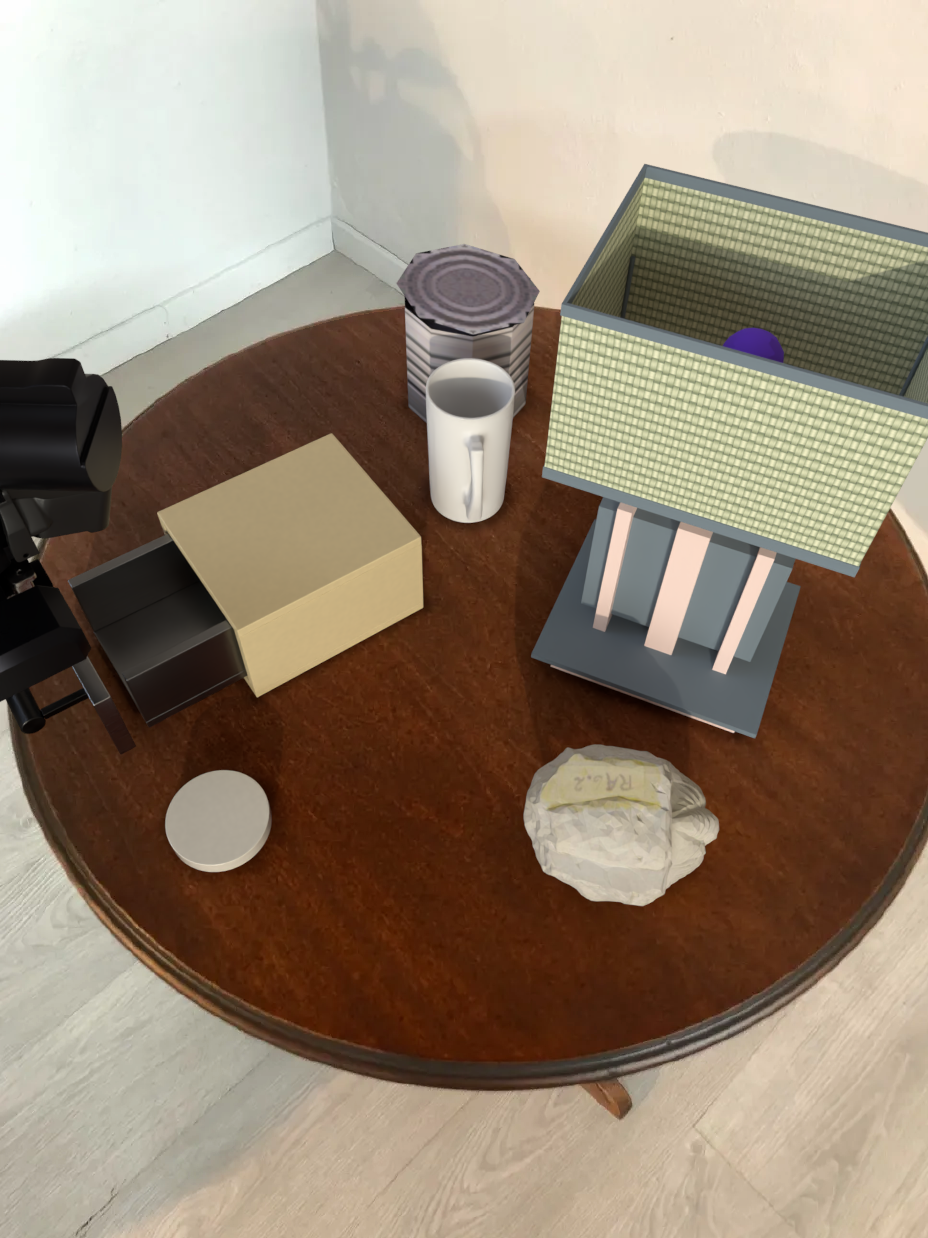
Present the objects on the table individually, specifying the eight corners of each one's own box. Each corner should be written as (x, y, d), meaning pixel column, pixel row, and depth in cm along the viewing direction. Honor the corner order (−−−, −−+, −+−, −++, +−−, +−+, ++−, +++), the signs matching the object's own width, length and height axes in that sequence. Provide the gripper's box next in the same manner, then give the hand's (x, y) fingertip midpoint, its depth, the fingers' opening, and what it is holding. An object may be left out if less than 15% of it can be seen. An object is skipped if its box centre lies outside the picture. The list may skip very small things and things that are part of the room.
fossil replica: (729, 887, 67) (653, 767, 73) (764, 822, 60) (678, 697, 66) (565, 952, 63) (499, 820, 69) (585, 890, 57) (511, 751, 63)
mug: (425, 468, 88) (422, 359, 78) (502, 464, 88) (509, 355, 78) (433, 559, 82) (431, 454, 72) (515, 554, 82) (525, 449, 73)
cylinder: (198, 895, 66) (193, 885, 64) (154, 815, 69) (147, 803, 67) (291, 839, 68) (288, 828, 66) (243, 764, 71) (239, 752, 70)
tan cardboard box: (257, 697, 74) (237, 631, 67) (181, 584, 80) (156, 511, 73) (423, 607, 79) (421, 536, 72) (341, 507, 85) (331, 432, 78)
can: (423, 342, 97) (421, 230, 88) (539, 363, 96) (550, 253, 86) (388, 422, 91) (382, 312, 81) (512, 447, 89) (520, 337, 80)
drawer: (57, 789, 69) (23, 741, 63) (-3, 671, 74) (-39, 617, 69) (292, 663, 75) (280, 609, 69) (221, 563, 80) (205, 505, 75)
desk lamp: (519, 668, 76) (559, 307, 49) (581, 536, 84) (645, 161, 57) (758, 756, 72) (943, 415, 45) (801, 608, 80) (981, 242, 53)
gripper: (142, 516, 51) (204, 681, 63) (8, 316, 59) (86, 496, 72) (-82, 619, 47) (32, 772, 59) (-190, 389, 56) (-71, 565, 68)
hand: (24, 639), depth 65 cm, fingers closed
